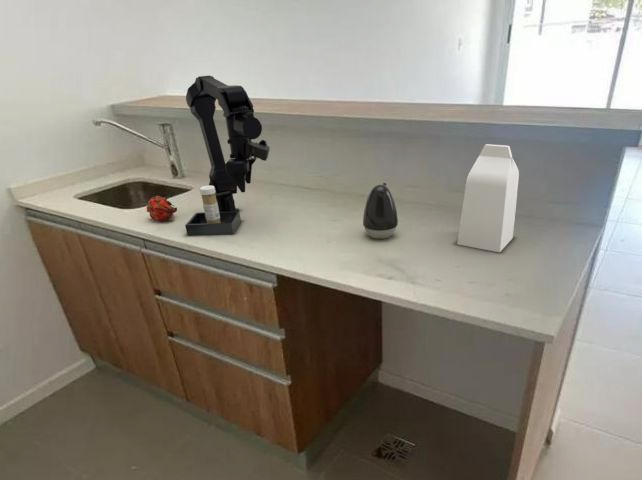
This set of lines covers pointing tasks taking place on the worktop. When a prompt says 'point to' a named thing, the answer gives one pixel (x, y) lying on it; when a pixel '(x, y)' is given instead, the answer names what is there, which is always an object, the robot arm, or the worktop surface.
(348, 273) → the worktop surface
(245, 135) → the robot arm
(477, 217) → the milk
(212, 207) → the sprinkles bottle
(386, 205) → the black egg-shaped piece
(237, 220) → the rectangular frame
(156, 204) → the dragon fruit
